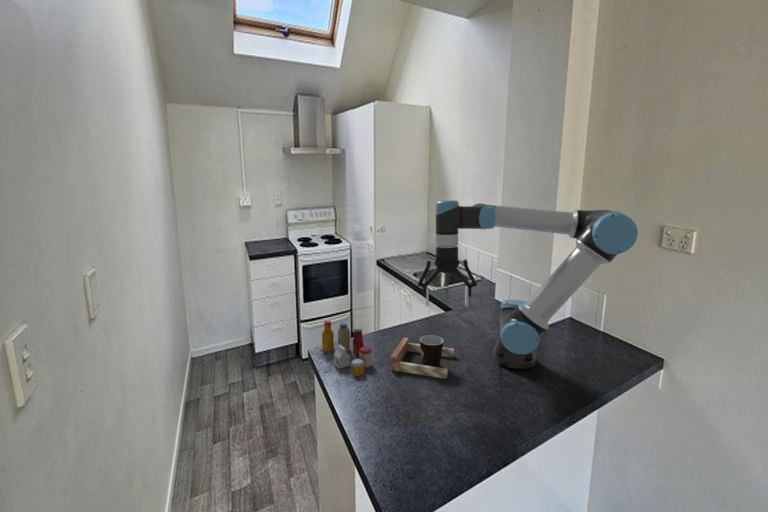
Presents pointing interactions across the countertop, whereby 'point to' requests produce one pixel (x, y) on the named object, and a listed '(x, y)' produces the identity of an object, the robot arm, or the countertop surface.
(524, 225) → the robot arm
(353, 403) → the countertop surface
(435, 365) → the dark brown cup
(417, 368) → the u-shaped wooden frame
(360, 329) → the toy food set
